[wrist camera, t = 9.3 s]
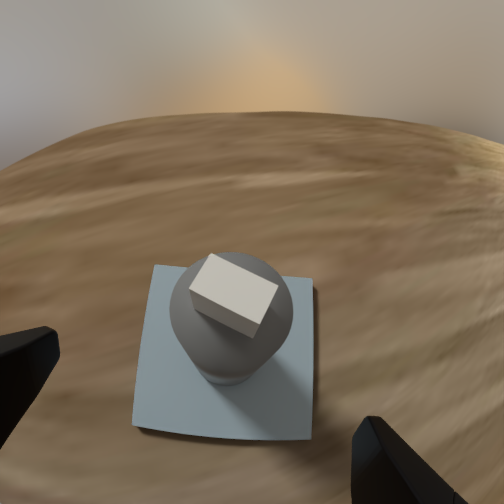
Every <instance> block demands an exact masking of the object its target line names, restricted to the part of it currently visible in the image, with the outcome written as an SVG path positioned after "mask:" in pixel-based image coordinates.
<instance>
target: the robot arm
mask: <svg viewBox="0 0 504 504" xmlns="http://www.w3.org/2000/svg"><path fill="white" fill-rule="evenodd" d="M59 357H60V348H59V340H58V334H57V332H56V331H55V330H54V329H52V328H49V327H47V326H42V327H38V328H34V329H29V330H25V331H20V332H16V333H11V334H6V335H2V336H0V449H1V448H2V446H3V445H4V443H5V441H6V440H7V438H8V437H9V435H10V434H11V433H12V431H13V430H14V428H15V427H16V425H17V424H18V422H19V421H20V419H21V418H22V417H23V415H24V414H25V412H26V411H27V410H28V408H29V407H30V405H31V404H32V403H33V401H34V400H35V398H36V397H37V395H38V394H39V392H40V391H41V389H42V387H43V385H44V384H45V382H46V380H47V378H48V377H49V375H50V373H51V372H52V370H53V368H54V367H55V365H56V363H57V362H58V360H59ZM351 498H352V504H468V503H467V502H466V501H465V500H464V499H463V498H462V497H461V496H460V495H459V494H458V493H457V492H454V489H453V488H451V487H450V486H449V485H448V484H447V483H446V482H445V481H444V480H443V479H442V478H441V477H440V476H439V475H438V474H437V473H436V472H435V471H434V470H433V469H432V468H431V467H430V466H429V465H428V464H427V463H426V462H425V461H424V460H423V459H422V458H421V457H420V456H419V455H418V454H417V453H416V452H415V451H414V450H413V449H412V448H411V447H410V446H409V445H408V444H407V443H406V442H405V441H404V440H403V439H402V438H401V437H400V436H399V435H398V434H397V433H396V432H395V431H394V430H393V429H392V428H391V427H390V426H389V425H388V424H387V423H386V422H385V421H384V420H383V419H382V418H381V417H379V416H367V417H365V418H364V420H363V421H362V423H361V424H360V426H359V427H358V429H357V430H356V432H355V433H354V436H353V439H352V464H351Z"/></svg>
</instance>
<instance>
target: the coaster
mask: <svg viewBox="0 0 504 504" xmlns="http://www.w3.org/2000/svg"><path fill="white" fill-rule="evenodd" d="M187 269H188V268H186V267H175V266H165V265H156V264H155V266H154V270H153V276H152V281H151V286H150V291H149V297H148V302H147V308H146V314H145V320H144V326H143V333H142V339H141V346H140V353H139V361H138V369H137V377H136V386H135V395H134V406H133V417H132V425H134V426H139V427H144V428H150V429H155V430H161V431H167V432H174V433H181V434H189V435H197V436H206V437H217V438H230V439H248V440H309V439H311V431H312V405H313V285H312V278H300V277H287V276H281V277H282V279H283V280H284V282H285V283H286V285H287V287H288V289H289V291H290V294H291V297H292V302H293V322H292V326H291V329H290V332H289V335H288V337H287V338H286V340H285V342H284V343H283V345H282V346H281V347H280V349H279V350H278V351H277V352H276V353H275V354H274V355H273V356H272V357H271V358H270V359H269V360H268V361H267V362H266V363H265V364H264V365H262V366H261V367H260V368H259V369H258V370H257V371H256V372H255V373H254V374H253V375H252V376H251V377H250V378H249V379H247V380H246V381H244V382H242V383H240V384H237V385H233V386H222V385H217V384H214V383H212V382H210V381H208V380H207V379H206V378H204V377H203V376H202V375H201V374H200V372H199V371H198V370H197V368H196V367H195V365H194V364H193V362H192V361H191V359H190V358H189V356H188V355H187V353H186V352H185V350H184V349H183V347H182V345H181V344H180V342H179V341H178V339H177V337H176V335H175V333H174V331H173V328H172V325H171V321H170V312H169V307H170V299H171V295H172V292H173V289H174V286H175V285H176V283H177V281H178V279H179V278H180V277H181V275H182V274H183V273H184V272H185V271H186V270H187Z"/></svg>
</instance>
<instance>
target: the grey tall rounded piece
mask: <svg viewBox="0 0 504 504" xmlns="http://www.w3.org/2000/svg"><path fill="white" fill-rule="evenodd" d="M169 312H170V321H171V325H172V328H173V331H174V333H175V335H176V337H177V339H178V341H179V342H180V344H181V345H182V347H183V349H184V350H185V352H186V353H187V355H188V356H189V358H190V359H191V361H192V362H193V364H194V365H195V367H196V368H197V370H198V371H199V372H200V374H201V375H202V376H203V377H204V378H206V379H207V380H208V381H210V382H212V383H214V384H217V385H222V386H233V385H237V384H240V383H242V382H244V381H246V380H247V379H249V378H250V377H251V376H252V375H253V374H254V373H255V372H256V371H257V370H258V369H259V368H260V367H261V366H262V365H264V364H265V363H266V362H267V361H268V360H269V359H270V358H271V357H272V356H273V355H274V354H275V353H276V352H277V351H278V350H279V349H280V347H281V346H282V345H283V343H284V342H285V340H286V338H287V337H288V335H289V332H290V329H291V326H292V322H293V302H292V297H291V294H290V291H289V289H288V287H287V285H286V283H285V282H284V280H283V279H282V277H281V276H280V275H279V274H278V272H277V271H276V270H274V269H273V268H272V267H271V266H270V265H268V264H267V263H266V262H264V261H262V260H260V259H258V258H256V257H253V256H251V255H247V254H243V253H237V252H225V253H218V254H212V253H211V254H210V255H209V256H207V257H205V258H203V259H200V260H199V261H197V262H195V263H194V264H193V265H191V266H190V267H189V268H188V269H187V270H186V271H185V272H184V273H183V274H182V275H181V277H180V278H179V279H178V281H177V283H176V285H175V286H174V289H173V292H172V295H171V299H170V307H169Z"/></svg>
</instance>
